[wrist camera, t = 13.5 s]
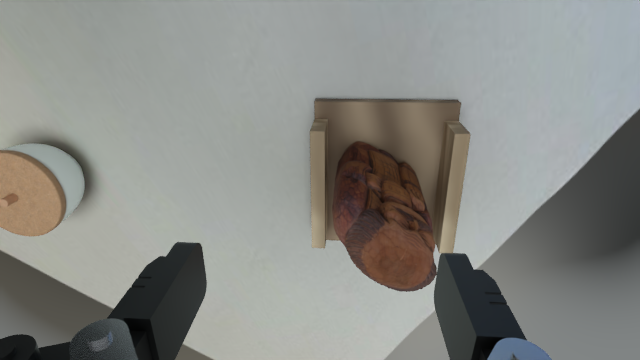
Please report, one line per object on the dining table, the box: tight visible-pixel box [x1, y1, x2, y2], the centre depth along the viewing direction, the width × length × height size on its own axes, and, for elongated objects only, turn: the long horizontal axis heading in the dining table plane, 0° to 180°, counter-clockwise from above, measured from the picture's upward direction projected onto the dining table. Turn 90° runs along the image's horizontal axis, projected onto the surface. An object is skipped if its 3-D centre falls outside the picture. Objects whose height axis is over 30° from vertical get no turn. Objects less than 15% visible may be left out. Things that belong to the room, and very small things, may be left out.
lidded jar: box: [0, 143, 85, 236], centre depth 48 cm, size 11×11×9 cm
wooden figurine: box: [332, 141, 437, 292], centre depth 39 cm, size 12×6×18 cm, turn 59°
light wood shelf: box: [310, 99, 470, 253], centre depth 45 cm, size 16×18×6 cm
